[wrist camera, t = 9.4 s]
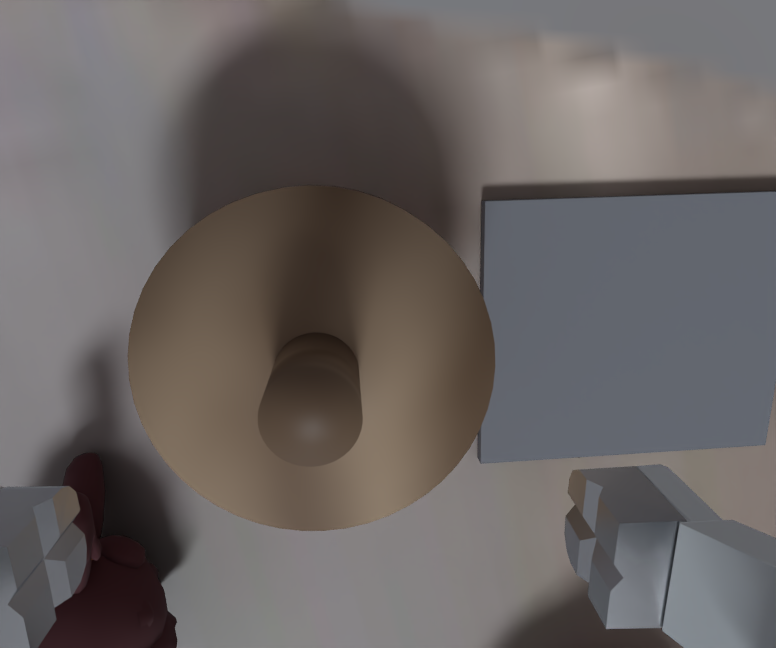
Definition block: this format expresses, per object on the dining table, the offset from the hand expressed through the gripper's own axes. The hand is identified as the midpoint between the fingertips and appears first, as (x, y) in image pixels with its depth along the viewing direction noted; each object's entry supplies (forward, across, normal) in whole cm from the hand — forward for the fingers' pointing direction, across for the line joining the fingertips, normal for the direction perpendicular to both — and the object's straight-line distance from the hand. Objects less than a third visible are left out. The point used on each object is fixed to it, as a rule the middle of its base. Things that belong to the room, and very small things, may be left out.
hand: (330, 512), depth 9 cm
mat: (+16, -13, +2) cm, 20 cm away
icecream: (+15, +11, +14) cm, 24 cm away
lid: (+10, +1, +1) cm, 11 cm away
